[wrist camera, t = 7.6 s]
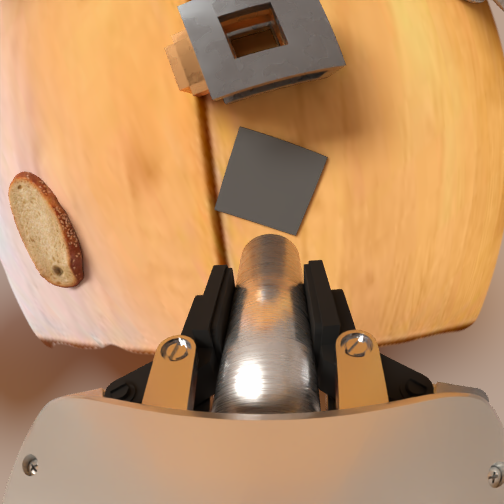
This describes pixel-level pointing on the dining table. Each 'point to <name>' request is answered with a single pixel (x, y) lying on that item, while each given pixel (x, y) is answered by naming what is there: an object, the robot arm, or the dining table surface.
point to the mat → (269, 181)
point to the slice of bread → (46, 231)
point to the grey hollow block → (257, 64)
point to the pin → (268, 336)
